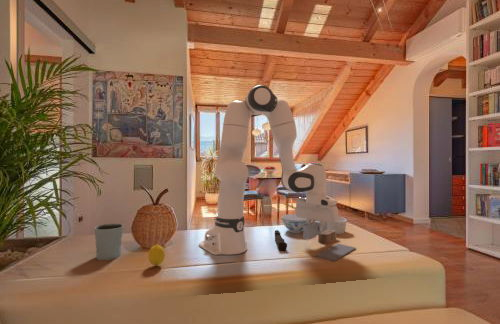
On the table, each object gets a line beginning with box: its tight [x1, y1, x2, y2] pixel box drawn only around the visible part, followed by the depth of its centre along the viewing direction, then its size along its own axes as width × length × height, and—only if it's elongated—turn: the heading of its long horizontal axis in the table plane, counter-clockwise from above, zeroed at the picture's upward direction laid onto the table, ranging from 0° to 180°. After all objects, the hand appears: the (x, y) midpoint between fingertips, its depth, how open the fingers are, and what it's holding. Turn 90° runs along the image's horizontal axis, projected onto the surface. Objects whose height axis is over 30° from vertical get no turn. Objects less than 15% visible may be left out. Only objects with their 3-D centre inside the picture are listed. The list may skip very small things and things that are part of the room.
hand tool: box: [274, 229, 288, 252], centre depth 126 cm, size 19×4×5 cm, turn 0°
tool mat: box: [315, 243, 357, 262], centre depth 115 cm, size 8×20×1 cm, turn 137°
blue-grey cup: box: [94, 223, 124, 261], centre depth 109 cm, size 10×10×12 cm
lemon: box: [148, 243, 166, 267], centre depth 100 cm, size 6×6×8 cm
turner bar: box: [302, 220, 327, 241], centre depth 123 cm, size 3×16×5 cm, turn 137°
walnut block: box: [317, 229, 337, 244], centre depth 132 cm, size 4×4×10 cm
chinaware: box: [281, 213, 308, 234], centre depth 147 cm, size 15×15×8 cm
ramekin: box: [325, 216, 348, 235], centre depth 147 cm, size 13×13×7 cm
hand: (315, 229), depth 124 cm, fingers closed on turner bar, 3 cm apart
